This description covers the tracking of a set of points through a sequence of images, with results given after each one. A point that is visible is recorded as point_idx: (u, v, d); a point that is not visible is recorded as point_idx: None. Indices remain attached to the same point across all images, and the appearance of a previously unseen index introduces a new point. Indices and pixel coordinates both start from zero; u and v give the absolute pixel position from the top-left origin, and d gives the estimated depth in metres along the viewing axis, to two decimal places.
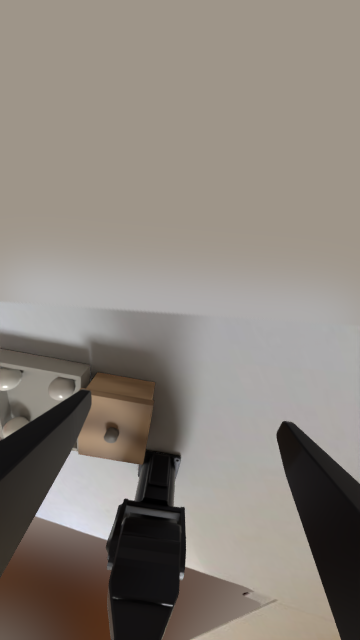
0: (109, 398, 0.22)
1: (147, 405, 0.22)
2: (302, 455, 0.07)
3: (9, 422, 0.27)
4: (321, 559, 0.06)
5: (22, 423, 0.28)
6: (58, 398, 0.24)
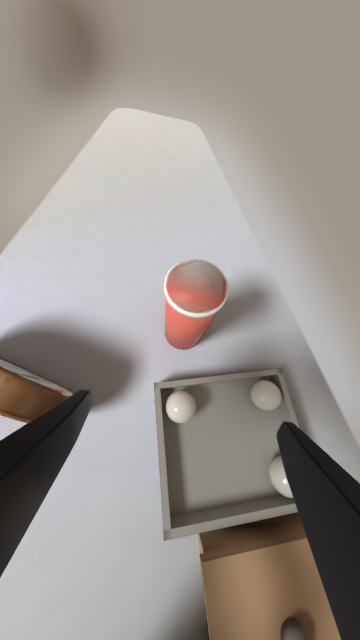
0: None
1: None
2: (302, 455, 0.07)
3: (193, 398, 0.19)
4: (321, 559, 0.06)
5: (193, 415, 0.19)
6: None
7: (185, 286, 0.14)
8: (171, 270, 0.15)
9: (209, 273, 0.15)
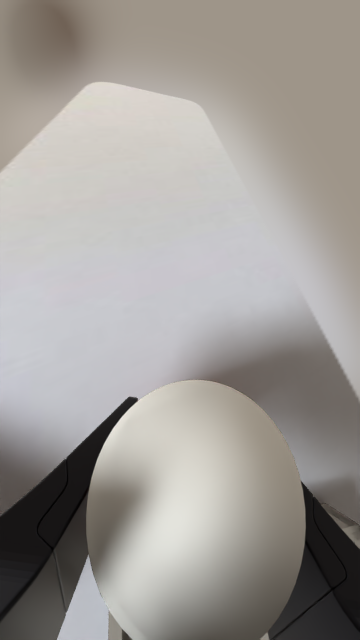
0: None
1: None
2: None
3: None
4: None
5: None
6: None
7: (161, 500, 0.04)
8: (119, 430, 0.05)
9: (238, 434, 0.05)
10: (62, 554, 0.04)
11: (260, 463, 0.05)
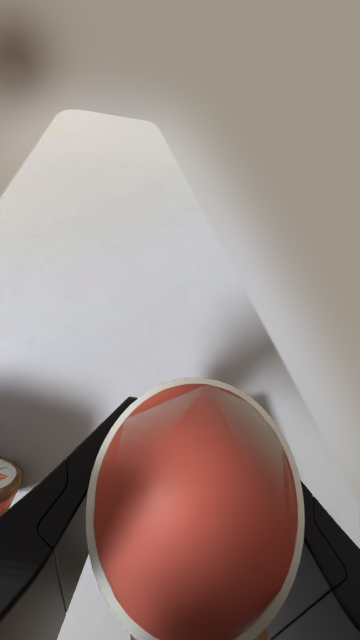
0: None
1: None
2: None
3: None
4: None
5: None
6: None
7: (161, 497, 0.04)
8: (119, 427, 0.05)
9: (237, 431, 0.05)
10: (62, 554, 0.04)
11: (259, 460, 0.05)
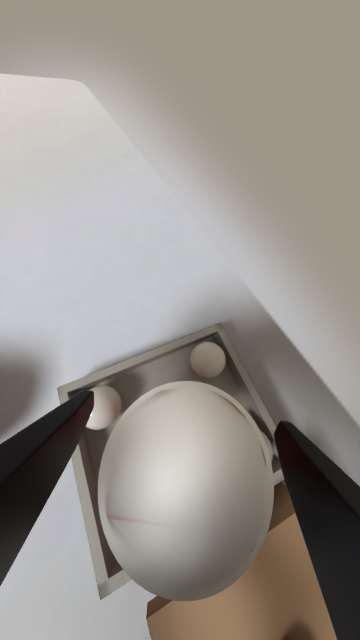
0: None
1: None
2: (299, 455, 0.07)
3: (115, 391, 0.15)
4: (317, 559, 0.06)
5: (119, 413, 0.14)
6: None
7: (157, 477, 0.05)
8: (123, 422, 0.06)
9: (221, 425, 0.06)
10: None
11: (238, 449, 0.06)
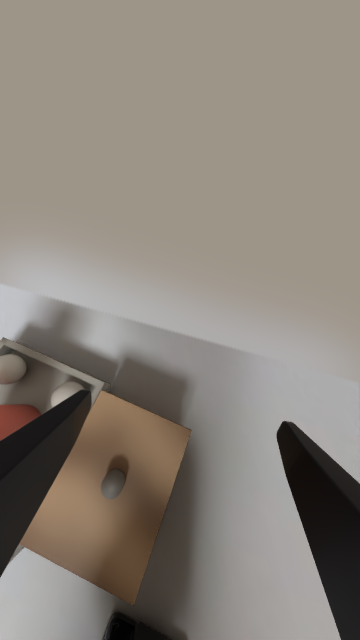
0: (138, 407, 0.17)
1: (184, 429, 0.17)
2: (302, 455, 0.07)
3: None
4: (321, 559, 0.06)
5: None
6: None
7: None
8: None
9: None
10: None
11: None
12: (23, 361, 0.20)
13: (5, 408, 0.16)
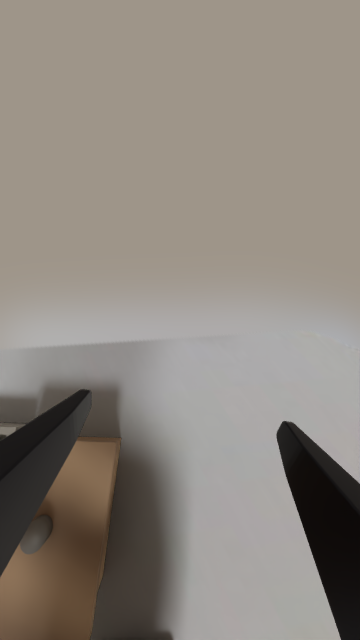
0: None
1: (108, 443, 0.16)
2: (302, 455, 0.07)
3: None
4: (321, 559, 0.06)
5: None
6: None
7: None
8: None
9: None
10: None
11: None
12: None
13: None
